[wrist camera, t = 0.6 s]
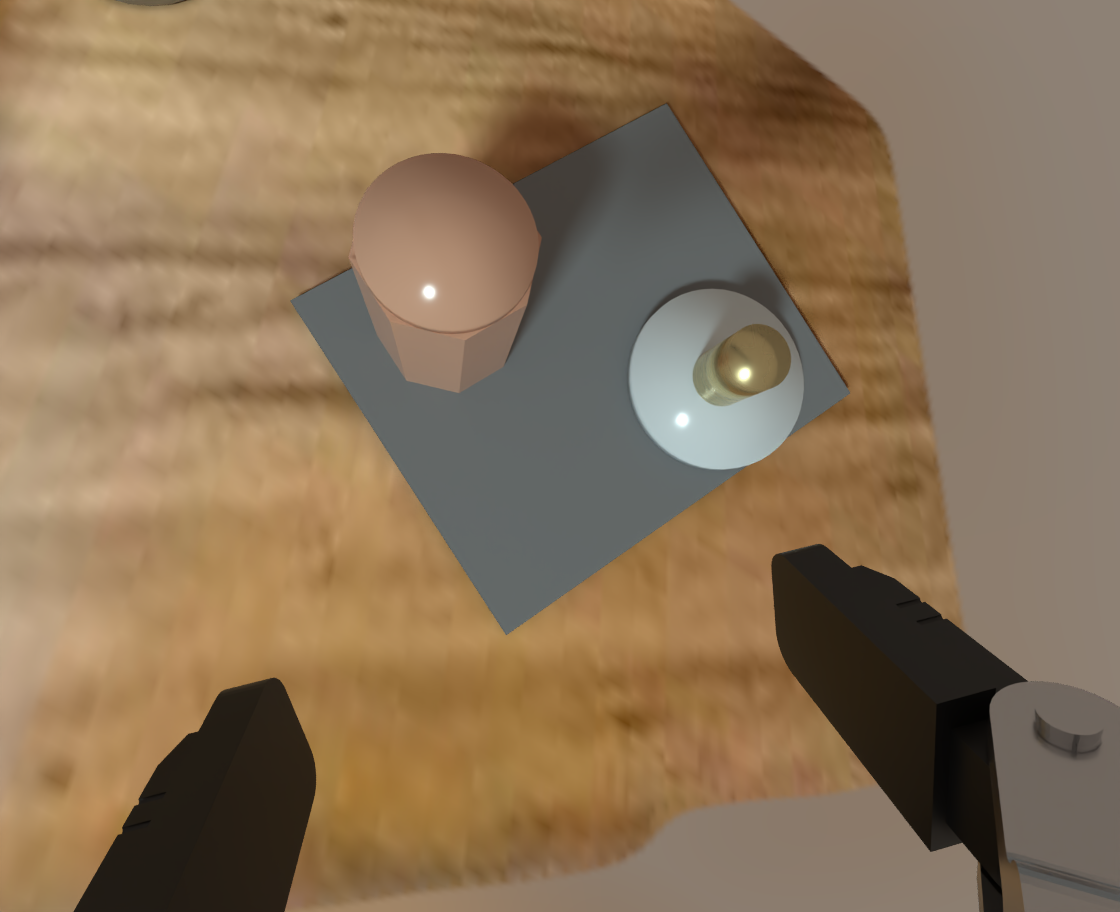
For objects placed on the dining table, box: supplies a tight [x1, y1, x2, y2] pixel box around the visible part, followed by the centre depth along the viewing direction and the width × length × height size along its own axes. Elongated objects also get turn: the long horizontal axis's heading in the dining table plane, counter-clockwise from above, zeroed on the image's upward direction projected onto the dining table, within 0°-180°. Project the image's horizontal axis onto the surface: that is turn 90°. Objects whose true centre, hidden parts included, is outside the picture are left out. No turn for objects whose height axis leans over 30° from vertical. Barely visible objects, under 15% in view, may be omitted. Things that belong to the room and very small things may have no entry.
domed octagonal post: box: [349, 153, 542, 393], centre depth 27 cm, size 7×7×10 cm
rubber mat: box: [291, 103, 850, 635], centre depth 34 cm, size 20×24×1 cm
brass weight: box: [692, 324, 791, 406], centre depth 32 cm, size 3×3×4 cm
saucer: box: [627, 289, 804, 470], centre depth 34 cm, size 10×10×1 cm
